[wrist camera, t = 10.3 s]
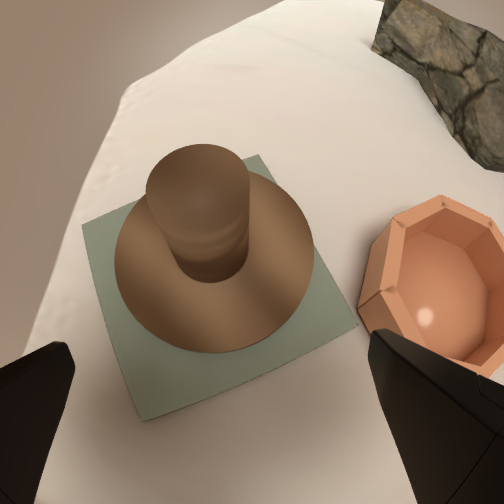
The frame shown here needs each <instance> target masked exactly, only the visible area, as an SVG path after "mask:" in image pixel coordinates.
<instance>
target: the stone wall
mask: <svg viewBox="0 0 504 504" xmlns="http://www.w3.org/2000/svg"><path fill="white" fill-rule="evenodd" d="M371 51H373V52H375V53H377V54H378V55H380V56H382V57H384V58H385V59H387V60H389V61H390V62H392V63H393V64H395V65H397V66H398V67H400V68H401V69H403V70H404V71H406V72H407V73H409V74H410V75H412V76H413V77H415V78H416V79H418V80H419V82H420V84H421V86H422V88H423V90H424V92H425V93H426V95H427V96H428V98H429V99H430V101H431V102H432V104H433V106H434V107H435V109H436V110H437V112H438V113H439V114H440V116H441V117H442V119H443V120H444V122H445V124H446V126H447V128H448V130H449V132H450V134H451V135H452V137H453V138H454V139H455V140H456V141H457V142H458V143H459V144H460V146H461V147H462V148H463V149H464V150H465V151H466V153H467V154H468V155H469V156H470V157H471V159H473V160H474V161H475V162H477V163H478V164H479V165H480V166H482V167H483V168H484V169H486V170H491V171H496V172H501V173H504V41H503V40H501V39H500V38H498V37H497V36H495V35H494V34H492V33H491V32H489V31H488V30H485V29H483V28H480V27H478V26H475V25H472V24H469V23H466V22H463V21H460V20H458V19H456V18H454V17H452V16H450V15H448V14H446V13H445V12H443V11H441V10H439V9H438V8H436V7H434V6H432V5H430V4H429V3H427V2H425V1H423V0H385V3H384V6H383V10H382V14H381V17H380V21H379V25H378V28H377V32H376V35H375V39H374V42H373V46H372V49H371Z"/></svg>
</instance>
